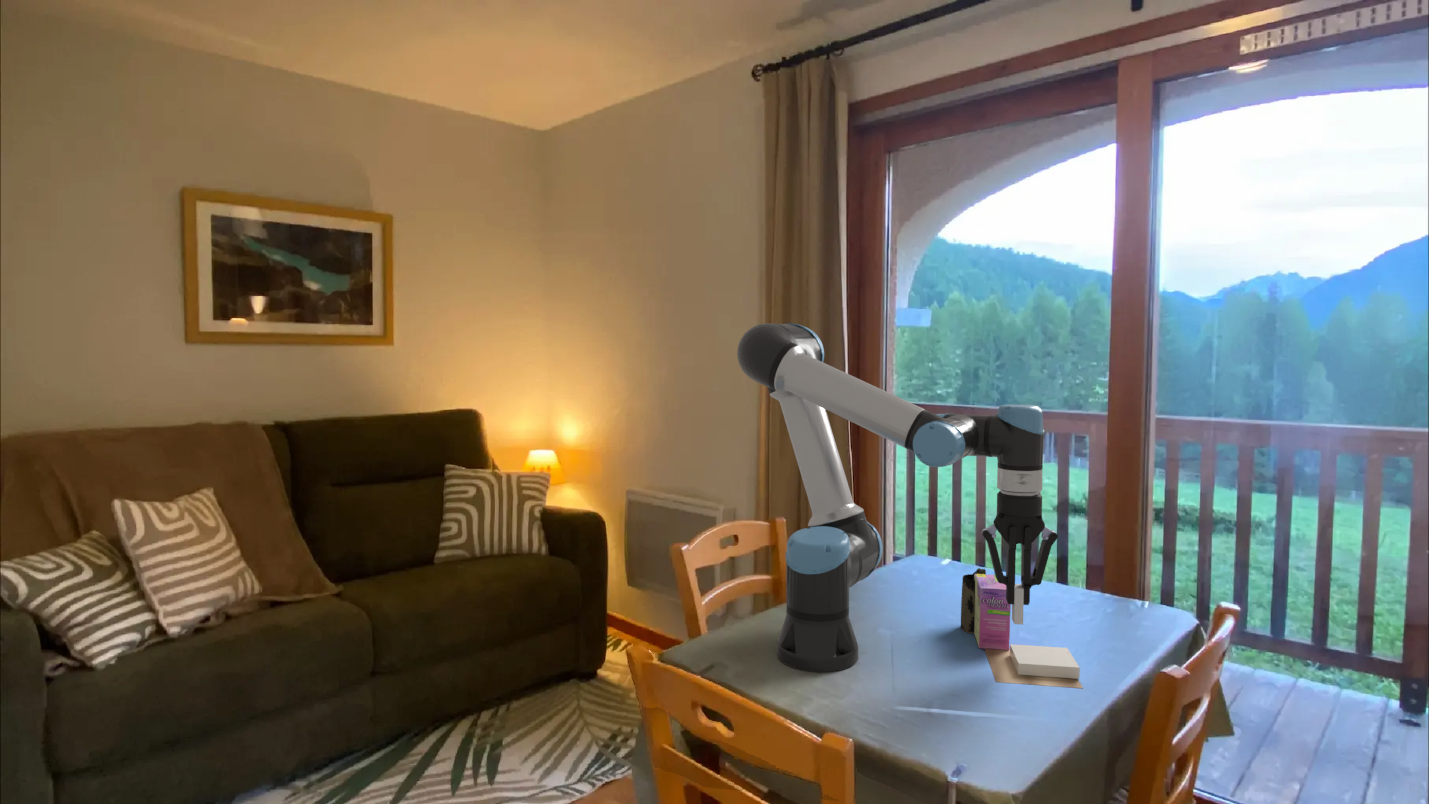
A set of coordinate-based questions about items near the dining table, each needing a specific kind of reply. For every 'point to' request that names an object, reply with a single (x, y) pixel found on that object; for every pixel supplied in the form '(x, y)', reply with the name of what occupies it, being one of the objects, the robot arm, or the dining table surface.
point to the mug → (969, 601)
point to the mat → (1008, 674)
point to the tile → (1044, 661)
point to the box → (991, 613)
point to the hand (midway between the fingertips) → (1017, 621)
